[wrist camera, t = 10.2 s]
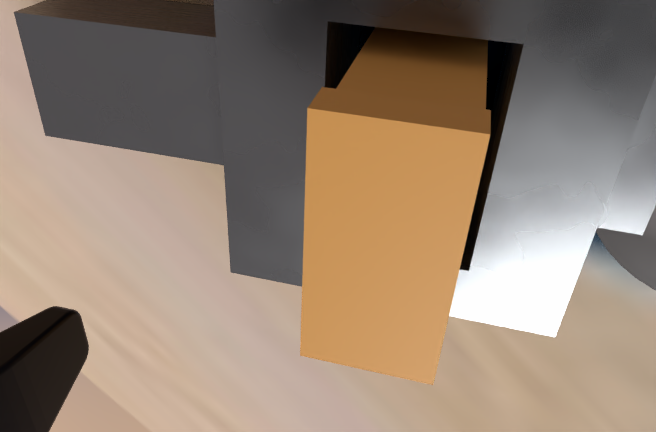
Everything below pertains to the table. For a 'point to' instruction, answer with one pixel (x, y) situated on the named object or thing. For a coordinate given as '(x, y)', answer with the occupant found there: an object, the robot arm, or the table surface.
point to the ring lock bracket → (327, 71)
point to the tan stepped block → (391, 200)
